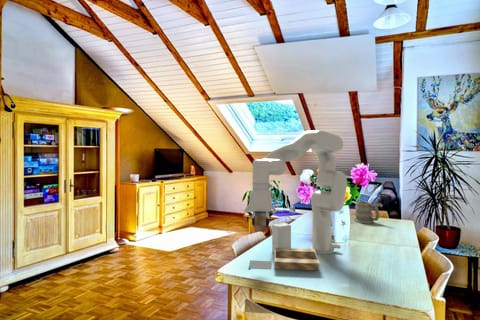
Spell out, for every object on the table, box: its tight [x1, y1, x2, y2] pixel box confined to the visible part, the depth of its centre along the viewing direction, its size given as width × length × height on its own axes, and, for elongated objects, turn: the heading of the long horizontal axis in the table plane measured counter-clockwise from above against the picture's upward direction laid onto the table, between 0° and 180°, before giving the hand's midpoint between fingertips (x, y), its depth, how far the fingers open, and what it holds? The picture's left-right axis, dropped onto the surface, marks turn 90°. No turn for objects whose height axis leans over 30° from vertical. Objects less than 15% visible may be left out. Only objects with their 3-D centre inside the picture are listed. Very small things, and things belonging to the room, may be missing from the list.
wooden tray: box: [273, 247, 321, 271], centre depth 151 cm, size 19×20×5 cm
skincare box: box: [271, 222, 292, 253], centre depth 169 cm, size 8×6×15 cm
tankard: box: [353, 201, 384, 224], centre depth 242 cm, size 20×13×15 cm, turn 43°
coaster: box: [248, 259, 272, 270], centre depth 150 cm, size 10×10×1 cm
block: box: [254, 212, 267, 232], centre depth 150 cm, size 5×7×8 cm
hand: (260, 226), depth 150 cm, fingers closed on block, 5 cm apart
